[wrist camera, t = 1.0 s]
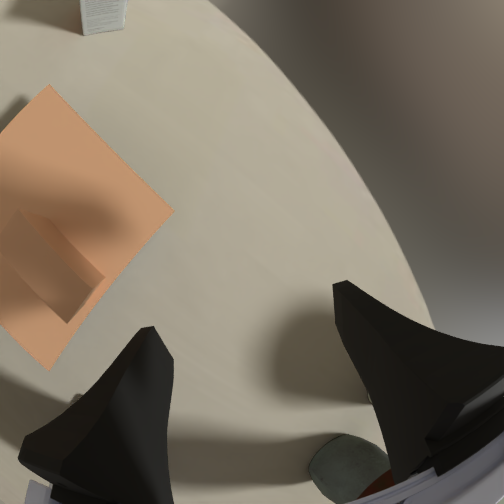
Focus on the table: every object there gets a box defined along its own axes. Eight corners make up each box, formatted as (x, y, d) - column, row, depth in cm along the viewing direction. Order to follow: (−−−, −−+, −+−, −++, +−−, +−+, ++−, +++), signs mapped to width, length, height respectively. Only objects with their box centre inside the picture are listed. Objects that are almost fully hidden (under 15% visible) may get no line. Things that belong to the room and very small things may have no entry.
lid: (54, 363, 13) (28, 406, 8) (-53, 233, 9) (-99, 229, 4) (172, 213, 17) (188, 197, 11) (53, 93, 13) (34, 45, 7)
